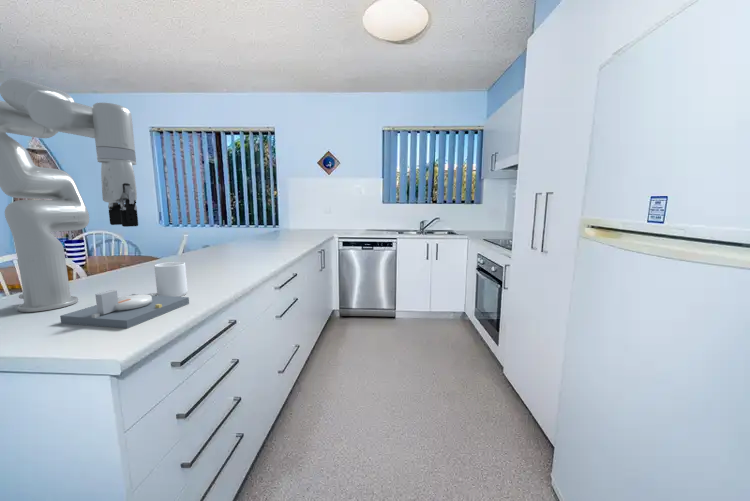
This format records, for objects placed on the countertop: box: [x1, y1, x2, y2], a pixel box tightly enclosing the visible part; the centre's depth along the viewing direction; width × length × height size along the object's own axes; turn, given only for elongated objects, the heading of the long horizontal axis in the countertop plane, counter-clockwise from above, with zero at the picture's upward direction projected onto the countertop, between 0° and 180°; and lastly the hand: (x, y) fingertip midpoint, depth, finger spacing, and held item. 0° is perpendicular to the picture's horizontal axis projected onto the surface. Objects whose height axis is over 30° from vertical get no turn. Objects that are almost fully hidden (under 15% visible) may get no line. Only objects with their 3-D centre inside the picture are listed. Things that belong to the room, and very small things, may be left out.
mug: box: [153, 261, 188, 297], centre depth 105 cm, size 9×12×11 cm
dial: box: [95, 290, 152, 314], centre depth 85 cm, size 13×10×5 cm
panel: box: [59, 293, 190, 329], centre depth 87 cm, size 20×20×3 cm
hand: (124, 225), depth 80 cm, fingers open, 9 cm apart
